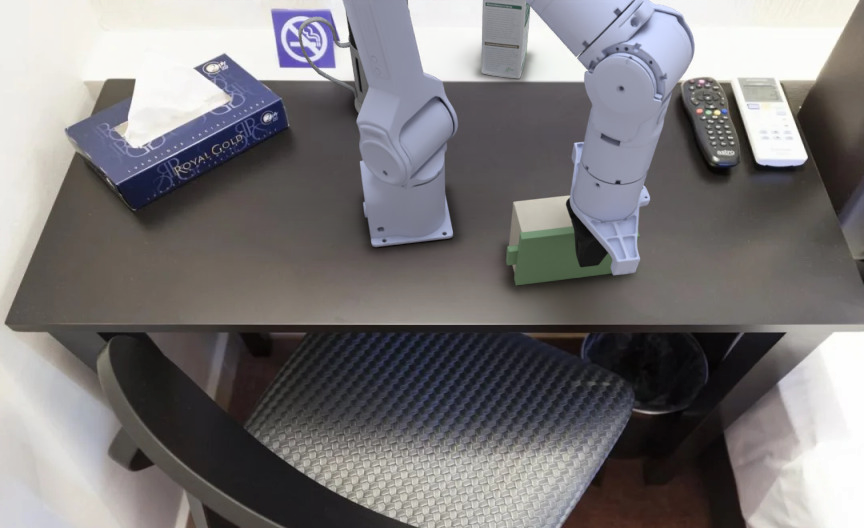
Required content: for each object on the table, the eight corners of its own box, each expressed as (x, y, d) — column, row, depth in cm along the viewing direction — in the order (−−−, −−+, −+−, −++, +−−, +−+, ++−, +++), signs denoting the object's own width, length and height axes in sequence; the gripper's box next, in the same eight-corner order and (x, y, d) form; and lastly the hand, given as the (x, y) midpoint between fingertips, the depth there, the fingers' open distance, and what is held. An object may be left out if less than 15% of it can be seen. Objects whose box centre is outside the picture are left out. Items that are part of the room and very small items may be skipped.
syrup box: (520, 80, 94) (530, -21, 81) (479, 74, 94) (482, -26, 82) (526, 55, 97) (536, -45, 85) (486, 50, 97) (491, -50, 85)
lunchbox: (618, 236, 78) (633, 187, 71) (631, 271, 75) (648, 224, 69) (498, 250, 77) (502, 202, 70) (506, 286, 74) (512, 240, 67)
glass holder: (426, 116, 89) (421, 11, 77) (321, 137, 87) (299, 33, 74) (409, 76, 94) (402, -29, 81) (309, 95, 91) (286, -10, 79)
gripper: (690, 219, 52) (648, 315, 63) (635, 99, 60) (606, 203, 71) (603, 229, 51) (576, 324, 63) (558, 106, 59) (542, 211, 70)
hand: (587, 261), depth 67 cm, fingers closed
